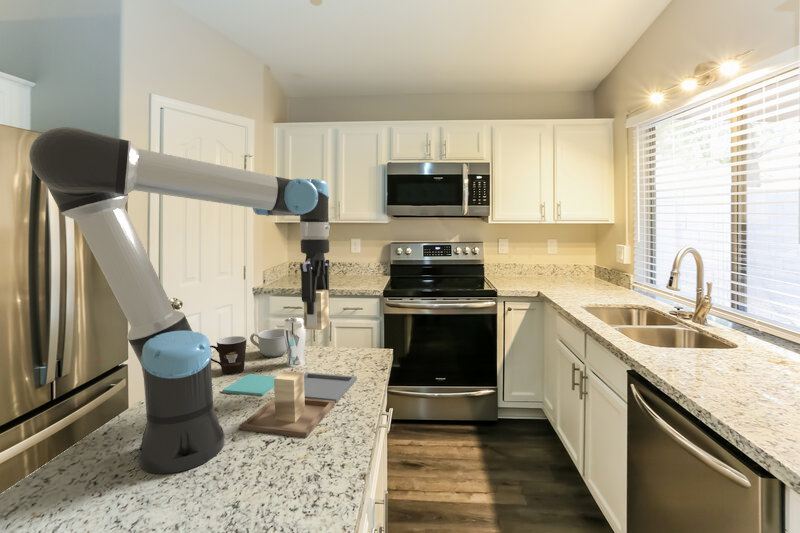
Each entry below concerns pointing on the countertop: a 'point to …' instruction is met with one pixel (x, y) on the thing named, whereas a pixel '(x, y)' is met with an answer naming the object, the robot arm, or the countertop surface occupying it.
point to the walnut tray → (300, 428)
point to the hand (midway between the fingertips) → (316, 323)
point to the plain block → (289, 396)
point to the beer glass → (295, 341)
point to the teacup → (270, 342)
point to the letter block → (319, 310)
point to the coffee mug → (231, 354)
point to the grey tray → (326, 386)
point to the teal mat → (251, 385)
